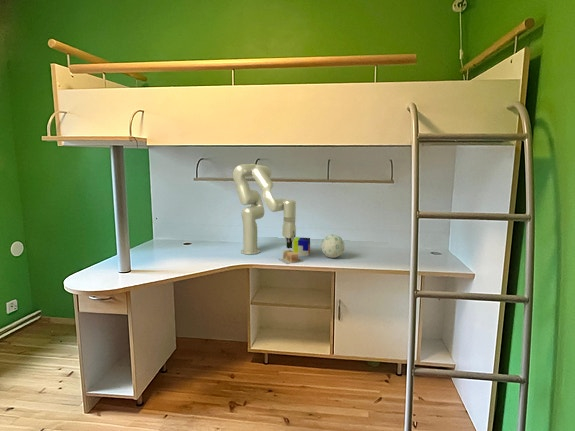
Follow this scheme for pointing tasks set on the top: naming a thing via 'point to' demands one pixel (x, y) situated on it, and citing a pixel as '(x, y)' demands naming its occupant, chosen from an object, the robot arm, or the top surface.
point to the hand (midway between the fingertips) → (289, 247)
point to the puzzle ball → (332, 246)
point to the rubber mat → (290, 262)
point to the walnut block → (290, 256)
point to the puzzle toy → (301, 246)
